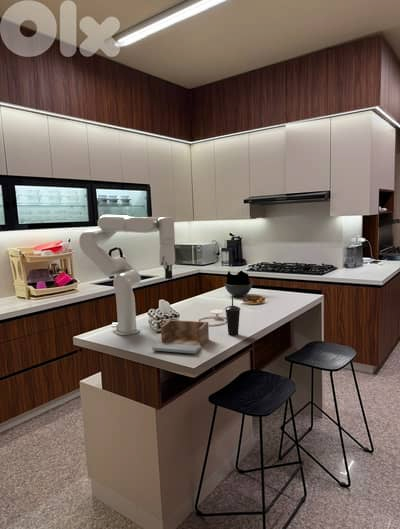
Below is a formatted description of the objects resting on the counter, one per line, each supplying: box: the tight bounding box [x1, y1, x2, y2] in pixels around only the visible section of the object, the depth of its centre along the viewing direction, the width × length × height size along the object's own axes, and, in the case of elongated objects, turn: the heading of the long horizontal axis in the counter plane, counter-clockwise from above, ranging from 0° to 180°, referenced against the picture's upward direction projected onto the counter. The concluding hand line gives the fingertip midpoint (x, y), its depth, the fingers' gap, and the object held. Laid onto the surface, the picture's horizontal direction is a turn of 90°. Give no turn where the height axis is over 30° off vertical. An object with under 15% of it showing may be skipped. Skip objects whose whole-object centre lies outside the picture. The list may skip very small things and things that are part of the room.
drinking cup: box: [224, 295, 241, 337], centre depth 184 cm, size 8×8×20 cm
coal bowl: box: [224, 270, 253, 298], centre depth 270 cm, size 20×20×19 cm
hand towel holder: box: [196, 309, 227, 327], centre depth 210 cm, size 17×4×20 cm
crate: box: [160, 319, 210, 348], centre depth 176 cm, size 20×11×9 cm, turn 73°
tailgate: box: [151, 342, 202, 355], centre depth 165 cm, size 20×1×9 cm
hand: (168, 278), depth 185 cm, fingers closed
